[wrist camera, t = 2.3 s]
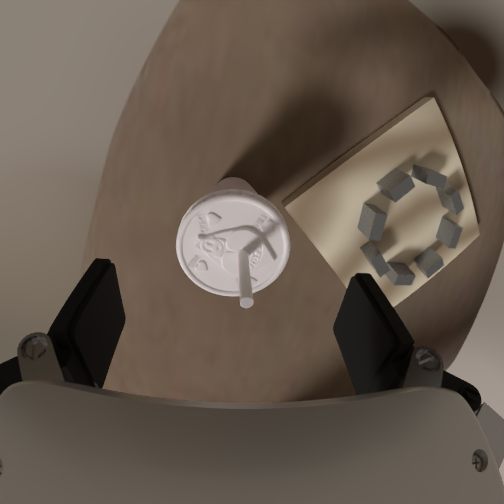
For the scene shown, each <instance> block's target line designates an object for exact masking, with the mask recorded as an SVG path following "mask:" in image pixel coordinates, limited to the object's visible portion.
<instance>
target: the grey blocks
mask: <svg viewBox="0 0 504 504" xmlns="http://www.w3.org/2000/svg"><path fill="white" fill-rule="evenodd" d="M411 177H413V178H415V179H417V180H419V181H421V182H423V183H425V184H428V185H432V186H436V190H437V193H438V196H439V198H440V201H441V204H442V206H443V207H444V208H446V209H448V210H449V211H451V212H452V213H454V214H456V215H457V214H459V213H460V212H461V211H462V210H463V209H464V206H463V203H462V199H461V196H460V193H459V189H457V188H455V187H453V186H451V185H449V184H447V183H446V180H447V176H445V175H443V174H441V173H439V172H436V171H434V170H432V169H428V168H425V167H422V166H418V165H415V164H413V169H412V174H411V176H410V175H409V174H407V173H404V172H402V171H400V170H398V169H396V168H395V169H394V170H392V171H391V172H390V173H388V174H387V175H386V176H385V177H383V178H382V179H381V180H379V181H378V182H377V183H376V184H377V186H378V188H379V190H380V191H381V193H382V194H383V195H385V196H386V197H388V198H389V199H391V200H392V201H394V202H395V203H396V202H397V201H398V200H400V199H401V198H402V197H403V196H405V195H406V194H407V193H408V192H410V191H411V190H412V189H413V188H415V185H414V182H413V180H412V178H411ZM386 219H387V214H386V213H385V212H383V211H382V210H381V209H380V208H378V207H377V206H376V205H373V204H367V203H363V207H362V211H361V215H360V219H359V223H358V227H357V228H358V229H359V230H360V231H361V232H362V233H363V234H364V236H365V237H366V238H367V239H368V240H369V241H368V242H367V243H365V244H364V245H363V246H361V247H360V249H361V251H362V252H363V254H364V256H365V257H366V259H367V261H368V262H369V264H370V265H371V267H372V268H373V269H374V270H375V272H376V273H377V274H378V276H379V277H382V276H383V275H386V276H387V277H388V279H389V280H390V281H391V282H392V284H393V285H412V283H413V281H414V279H415V276H416V275H415V274H414V273H413V272H412V270H411V269H410V268H409V267H408V266H407V265H406V264H405V263H401V262H386V261H385V260H384V258H383V256H382V254H381V253H380V251H379V250H378V249H377V248H376V247H375V246H374V245H373V244H372V243H371V242H370V240H375V241H380V240H381V237H382V233H383V230H384V226H385V223H386ZM462 229H463V227H461V226H460V225H458V224H457V223H455V222H454V221H453V220H451V219H450V218H446V217H442V219H441V222H440V225H439V228H438V231H437V234H436V238H437V239H438V240H440V241H441V242H442V243H443V244H444V245H446V246H447V247H448V248H453V249H456V246H457V243H458V241H459V238H460V235H461V232H462ZM413 260H414V262H415V264H416V267H417V268H418V269H419V270H420V271H421V272H422V273H423V274H424V275H425V276H426V277H427V278H429V277H431V276H432V275H433V274H434V273H436V272H437V271H438V270H439V269H440V268H441V267H443V266H444V263H443V259H442V257H441V256H440V255H439V254H437V253H436V252H435V251H434V250H433V249H432V248H431V247H430V246H429V247H428V248H427V249H425V250H424V251H423V252H422V253H421V254H419V255H418V256H417V257H416V258H414V259H413Z"/></svg>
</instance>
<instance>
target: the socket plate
mask: <svg viewBox="0 0 504 504" xmlns="http://www.w3.org/2000/svg"><path fill="white" fill-rule="evenodd" d="M413 164H415V165H418V166H422V167H425V168H428V169H432V170H434V171H436V172H439V173H441V174H443V175H445V176H447V180H446V183H447V184H449V185H451V186H453V187H455V188H457V189H459V193H460V196H461V199H462V203H463V206H464V209H463V210H462V211H461V212H460V213H459V214H457V215H456V214H454V213H452V212H451V211H449V210H448V209H446V208H444V207H443V206H442V204H441V201H440V198H439V196H438V193H437V190H436V186H432V185H428V184H425V183H423V182H421V181H419V180H417V179H415V178H413V177H411V178H412V180H413V182H414V185H415V188H413V189H412V190H411V191H410V192H408V193H407V194H406V195H405V196H403V197H402V198H401V199H400V200H398V201H397V202H396V203H395V202H394V201H392V200H391V199H389V198H388V197H386V196H385V195H383V194H382V193H381V191H380V190H379V188H378V186H377V184H376V183H377V182H378V181H379V180H381V179H382V178H383V177H385V176H386V175H387V174H388V173H390V172H391V171H392V170H394V169H395V168H396V169H398V170H400V171H402V172H404V173H407V174H409V175H410V176H411V174H412V169H413ZM282 203H283V205H284V207H285V209H286V210H287V211H288V212H289V214H290V215H291V216H292V217H293V218H294V220H295V221H296V222H297V224H298V225H299V226H300V227H301V229H302V230H303V231H304V232H305V234H306V235H307V236H308V237H309V239H310V240H311V241H312V243H313V244H314V245H315V246H316V248H317V249H318V250H319V252H320V253H321V254H322V256H323V257H324V258H325V260H326V261H327V262H328V263H329V265H330V266H331V267H332V269H333V270H334V271H335V273H336V274H337V275H338V277H339V278H340V280H341V281H342V282H343V284H344V285H345V286H346V288H347V287H348V285H349V282H350V279H351V277H352V276H355V274H356V273H370V274H371V275H372V277H373V278H374V280H375V281H376V282H377V284H378V285H379V287H380V288H381V290H382V291H383V293H384V294H385V296H386V297H387V299H388V300H389V302H390V303H391V305H392V306H393V307H394V306H396V305H397V304H398V303H400V302H401V301H402V300H404V299H405V298H406V297H408V296H409V295H410V294H412V293H413V292H414V291H416V290H417V289H418V288H419V287H421V286H422V285H423V284H424V283H426V282H427V281H428V280H429V279H431V278H432V277H433V276H434V275H435V274H437V273H438V272H439V271H440V270H441V269H442V268H444V267H445V266H446V265H447V264H448V263H449V262H451V261H452V260H453V259H454V258H455V257H456V256H457V255H458V254H460V253H461V252H462V251H463V250H464V249H465V248H466V247H467V246H468V245H469V244H470V243H471V242H472V241H473V240H474V239H476V238H477V237H478V236H479V235H480V234H479V229H478V224H477V219H476V214H475V210H474V206H473V202H472V198H471V194H470V191H469V187H468V183H467V180H466V177H465V174H464V170H463V167H462V164H461V161H460V158H459V156H458V153H457V150H456V147H455V145H454V142H453V139H452V137H451V134H450V132H449V130H448V127H447V125H446V122H445V120H444V118H443V116H442V113H441V111H440V109H439V107H438V105H437V103H436V101H435V99H434V97H424V98H422V99H421V100H420V101H418V102H417V103H415V104H414V105H412V106H411V107H410V108H408V109H407V110H405V111H404V112H403V113H401V114H400V115H398V116H397V117H396V118H394V119H393V120H391V121H390V122H389V123H387V124H386V125H384V126H383V127H382V128H380V129H379V130H377V131H376V132H375V133H373V134H372V135H371V136H369V137H368V138H366V139H365V140H364V141H362V142H361V143H360V144H358V145H357V146H355V147H354V148H353V149H351V150H350V151H349V152H347V153H346V154H345V155H343V156H342V157H340V158H339V159H338V160H336V161H335V162H334V163H332V164H331V165H330V166H328V167H327V168H326V169H324V170H323V171H322V172H320V173H319V174H318V175H316V176H315V177H314V178H312V179H311V180H310V181H308V182H307V183H306V184H304V185H303V186H302V187H300V188H299V189H298V190H296V191H295V192H294V193H292V194H291V195H290V196H289V197H287V198H286V199H285V200H283V201H282ZM363 203H367V204H373V205H376V206H377V207H378V208H380V209H381V210H382V211H383V212H385V213H386V214H387V219H386V223H385V226H384V230H383V233H382V237H381V240H380V241H375V240H370V242H371V243H372V244H373V245H374V246H375V247H376V248H377V249H378V250H379V251H380V253H381V254H382V256H383V258H384V260H385V261H386V262H401V263H405V264H406V265H407V266H408V267H409V268H410V269H411V270H412V272H413V273H414V274H415V275H416V276H415V279H414V281H413V283H412V285H393V284H392V282H391V281H390V280H389V279H388V277H387V276H386V275H383V276H382V277H379V276H378V274H377V273H376V272H375V270H374V269H373V268H372V267H371V265H370V264H369V262H368V261H367V259H366V257H365V256H364V254H363V252H362V251H361V249H360V247H361V246H363V245H364V244H365V243H367V242H368V241H369V240H368V239H367V238H366V237H365V236H364V234H363V233H362V232H361V231H360V230H359V229H358V228H357V227H358V223H359V219H360V215H361V211H362V207H363ZM442 217H446V218H450V219H451V220H453V221H454V222H455V223H457V224H458V225H460V226H461V227H463V229H462V232H461V235H460V238H459V241H458V243H457V246H456V249H453V248H448V247H447V246H446V245H444V244H443V243H442V242H441V241H440V240H438V239H437V238H436V234H437V231H438V228H439V225H440V222H441V219H442ZM429 246H430V247H431V248H432V249H433V250H434V251H435V252H436V253H437V254H439V255H440V256H441V257H442V259H443V263H444V266H443V267H441V268H440V269H439V270H438V271H437V272H436V273H434V274H433V275H432V276H431V277H429V278H427V277H426V276H425V275H424V274H423V273H422V272H421V271H420V270H419V269H418V268H417V267H416V264H415V262H414V260H413V259H414V258H416V257H417V256H418V255H419V254H421V253H422V252H423V251H424V250H425V249H427V248H428V247H429Z"/></svg>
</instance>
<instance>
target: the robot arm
mask: <svg viewBox="0 0 504 504" xmlns="http://www.w3.org/2000/svg"><path fill="white" fill-rule="evenodd" d="M124 324H125V312H124V308H123V304H122V299H121V294H120V289H119V284H118V279H117V274H116V268H115V265H114V263H111V261H110V260H109V259H99V258H96V259H95V260H94V261H93V263H92V264H91V265H90V267H89V268H88V270H87V271H86V272H85V274H84V275H83V277H82V278H81V280H80V281H79V283H78V284H77V286H76V287H75V289H74V290H73V292H72V293H71V295H70V296H69V298H68V299H67V301H66V302H65V304H64V306H63V307H62V309H61V310H60V312H59V314H58V316H57V317H56V319H55V320H54V322H53V324H52V325H51V327H50V330H49V332H48V334H47V335H46V334H45V333H42V332H35V333H31V334H29V335H27V336H26V337H24V338H23V339H22V340H21V342H20V343H19V346H18V348H17V355H18V356H17V357H14V358H12V359H10V360H8V361H6V362H3V363H2V364H0V504H504V485H503V481H502V478H501V475H500V472H499V467H500V465H501V463H502V461H503V458H504V419H503V418H502V417H501V416H499V415H498V414H497V413H496V412H495V411H494V410H493V409H492V408H490V407H489V406H488V405H487V404H486V403H485V402H484V403H483V404H481V396H480V393H479V391H478V390H477V389H476V388H475V387H474V386H473V385H471V384H470V383H468V382H466V381H464V380H462V379H460V378H458V377H456V376H454V375H452V374H450V373H448V372H446V371H444V362H443V359H442V357H441V356H440V355H439V353H437V352H436V351H435V350H434V349H432V348H430V347H426V346H420V347H417V348H416V349H415V348H414V347H413V344H414V340H413V338H412V337H411V335H410V333H409V332H408V330H407V328H406V327H405V325H404V324H403V322H402V320H401V319H400V317H399V316H398V314H397V313H396V311H395V309H394V308H393V306H392V305H391V303H390V302H389V300H388V299H387V297H386V296H385V294H384V293H383V291H382V290H381V288H380V287H379V285H378V284H377V282H376V281H375V280H374V278H373V277H372V275H371V274H370V273H356V274H355V276H352V277H351V279H350V282H349V285H348V287H347V290H346V293H345V296H344V299H343V302H342V304H341V307H340V310H339V312H338V315H337V318H336V320H335V323H334V327H333V330H334V334H335V337H336V340H337V342H338V345H339V348H340V350H341V353H342V356H343V358H344V361H345V364H346V366H347V369H348V372H349V375H350V377H351V380H352V383H353V386H354V389H355V391H356V394H357V395H354V396H347V397H339V398H330V399H320V400H309V401H294V402H272V403H224V402H203V401H188V400H177V399H167V398H158V397H150V396H143V395H136V394H130V393H124V392H117V391H112V390H106V389H102V387H103V385H104V382H105V379H106V375H107V372H108V369H109V366H110V363H111V360H112V358H113V355H114V352H115V349H116V346H117V343H118V341H119V338H120V335H121V332H122V330H123V327H124Z"/></svg>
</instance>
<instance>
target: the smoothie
mask: <svg viewBox="0 0 504 504" xmlns="http://www.w3.org/2000/svg"><path fill="white" fill-rule="evenodd" d="M176 250H177V256H178V260H179V263H180V265H181V267H182V269H183V270H184V272H185V273H186V275H187V276H188V277H189V278H190V279H191V280H192V281H193V282H194V283H195V284H197V285H198V286H200V287H201V288H203V289H205V290H207V291H209V292H212V293H215V294H219V295H224V296H240V305H241V306H242V307H244V308H249V307H251V306H252V305H253V294H252V293H254V292H257V291H259V290H261V289H263V288H265V287H266V286H268V285H269V284H271V283H272V282H273V281H274V280H275V279H276V278H277V277H278V276H279V275H280V273H281V272H282V271H283V269H284V267H285V265H286V263H287V260H288V257H289V253H290V238H289V233H288V229H287V226H286V224H285V221H284V218H283V216H282V215H281V213H280V212H279V211H278V209H277V208H276V207H275V205H273V204H272V203H271V202H269V201H268V200H267V199H265V198H264V197H263V196H260V195H258V194H257V192H256V191H255V190H254V189H253V188H252V187H251V185H250V184H249V183H248V182H246V181H245V180H243V179H241V178H237V177H229V178H225V179H223V180H221V181H220V182H218V183H217V184H216V186H215V187H214V188H213V189H212V190H211V191H210V193H209V194H208V195H206V196H204V197H202V198H201V199H199V200H198V201H197V202H195V203H194V204H193V205H192V206H191V207H190V208H189V209H188V211H187V212H186V214H185V215H184V216H183V218H182V221H181V224H180V226H179V229H178V235H177V241H176Z"/></svg>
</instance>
